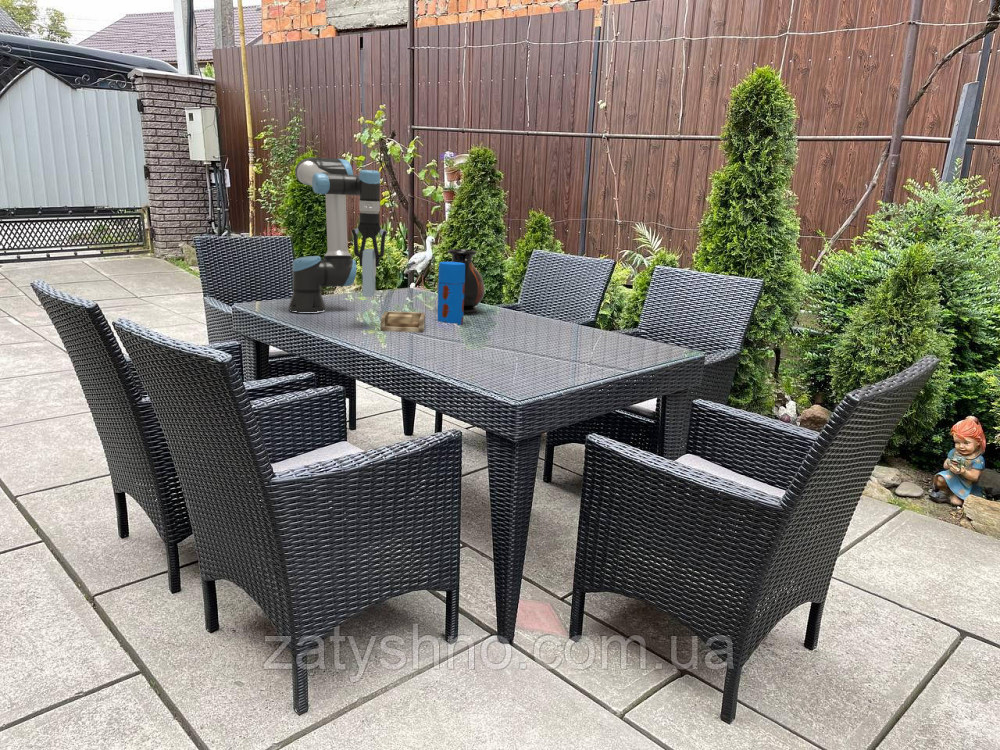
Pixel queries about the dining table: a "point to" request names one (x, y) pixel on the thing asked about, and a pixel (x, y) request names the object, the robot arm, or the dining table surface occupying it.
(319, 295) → the robot arm
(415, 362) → the dining table surface
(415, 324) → the offcut
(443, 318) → the thermos
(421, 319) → the box
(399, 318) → the offcut
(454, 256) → the amphora vase
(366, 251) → the pale blue block
